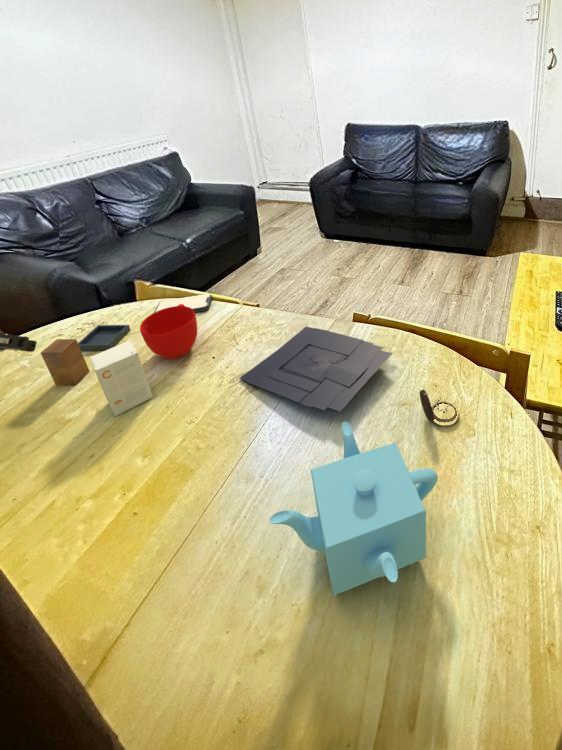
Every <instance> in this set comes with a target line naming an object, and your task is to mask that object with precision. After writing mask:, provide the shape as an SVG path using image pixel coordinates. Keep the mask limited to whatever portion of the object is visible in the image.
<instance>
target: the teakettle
mask: <svg viewBox="0 0 562 750" xmlns="http://www.w3.org/2000/svg"><path fill="white" fill-rule="evenodd" d="M341 433H342V441H343V455H342V456H343V457H342V459H339V460H336V461H332V462H330V463H326V464H323V465H320V466H318V467H314V468H312V469H310V474H311V480H312V486H313V491H314V492H313V494H314V499H315V505H316V511H317V516H306V515H304V514H302V513H301V512H299V511H297V510H293V509H284V510H280V511H278V512H275V513H274V514H272V515H271V516H270V517H269V518H268V521H269V523H270V524H272V525H285V526H289V527H290V528H291V529H293V530H294V531H295V533H296V535H297V536H298V538H299V539H300V540H301V541H302V543H303V544H304V546H306V547H308V548H309V549H311V550H313V551H319V552H324V553H325V559H326V564H327V570H328V574H329V575H328V576H329V580H330V585H331V591H332V596H333V597H335V596H338V595H339V594H342V593H344V592H347V591H349V590H352V589H355V588H357V587H359V586H361V585H363V584H366V583H369V582H371V581H374V580H376V579H379V578H383V577H386V579H387V580H388V581H389V582H391V583H396V582H397V581H398V578H399V571H398V570H400V569H404V568H405V567H407V566H410V565H412V564H416V562H420V561H421V560H425V559H426V558H427V540H426V539H427V511H426V509H425V507H424V504H423V500H424V499H425V498H426V497H427V496H428V495H429V494H430V493H431V491H432V490H434V488H435V486H436V484H437V482H438V478H439V477H438V473H437V471H435V469H433V468H430V467H425V468H419V469H414V470H410V471H409V469H408V467H407V465H406V463H405V460H404V458H403V455H402V453H401V451H400V449H399V446H398V443H397V442H392V443H389V444H385V445H383V446H380V447H376V448H373V449H370V450H366V451H363V452H361V451H360V449H359V447H358V444H357V441H356V438H355V435H354V431H353V428H352V425H350V423H349V422H347V421H343V422H342V424H341ZM354 587H355V588H354Z"/></svg>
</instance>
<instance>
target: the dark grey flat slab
mask: <svg viewBox="0 0 562 750" xmlns="http://www.w3.org/2000/svg"><path fill="white" fill-rule="evenodd" d="M383 349H384V347H383V346H381V345H376V344H374V343H373V342H371V341H366V340H364V339H361V338H358V337H355V336H354V337H353V336H350V335H346V334H342V333H337V332H334V331H331V330H326V329H321V328H318V327H317V328H316V327H311V326H305V327H304V328H302V329H301V330H300V331H299V332H298V333H296V334H295V335H294V336H293V337H291V338H289V340H288V341H286V343H284V344H283V345H282V346H280V347H279V348H278V349H277V350H276V351H274V352H272V353H271V354H270V355H268V356H266V358H264V359H263V360H261V362H259V363H258V364H257V365H255V366H253V367H252V368H251V369H249V370H248V371H246V373H244V374H243V375H241V376H240V377H239V379H240V380H243V381H244V382H246V383H248V384H250V385H253V386H256V387H258V388H260V389H261V388H262V389H264V390H266V391H269V392H272V393H274V394H276V395H279V396H281V397H283V398H286V399H289V400H292V401H293V402H296V403H299V404H300V405H303V406H306V407H309V408H311V407H314V408H317V409H319V410H322V411H325V410H327V408H330V409H333V410H336V411H339V412H342V410H343V409H344V408H345V407H346V406H347V405H348V403H350V401H351V400H352V399H353V398H354V397H355V395H357V393H358V392H359V391H360V390H361V389H362V387H363V386H364V385H365V384H367V382H368V381H369V379H370V378H371V377H372V376H373V375H374V374H375V373H376V372H377V371H378V370H380V367H381V366H383V365H384V364H385V362H386V361H387V360H388V359H389V358H390V357H391V356H392V355H393V353H392V352H389V351H384V350H383Z"/></svg>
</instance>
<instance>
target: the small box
mask: <svg viewBox="0 0 562 750" xmlns="http://www.w3.org/2000/svg"><path fill="white" fill-rule="evenodd" d="M89 360H90V363H91V365H92V368H93V369H94V370H93V371H94V373H95V375H96V376H97V380H98V381H99V384H100V387H101V389H102V391H103V395H104V397H105V398H106V400H107V403H108V405H109V408H110V410H111V412H112V414H113V416H114V417H117V416H119V415H122V414H123V413H124V412H126V411H127V412H128V410H131V409H132V408H135V407H136V406H139V405H141V404H143V403H144V402H147V401H148V400H150V399H152V398H153V397H154V395H153V392H152V390H151V387H150V384H149V381H148V378H147V375H146V372H145V370H144V367H143V364H142V361H141V358H140V356H139V353H138V352H137V350H136V348H135V347H134V345H133V344H132V342H131V341H130V340H128V341H125V342H123V343H121V344H117V345H116V346H115V347H113V348H111V349H108V350H106V351H100V352H99V353H96V354H93V355H92V356H91V355H90V356H89Z"/></svg>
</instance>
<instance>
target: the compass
mask: <svg viewBox="0 0 562 750" xmlns="http://www.w3.org/2000/svg"><path fill="white" fill-rule="evenodd" d="M419 399H420V404H421V407H422V410H423V412H424V416H425V418H426V419H427V421H428V422H433V420H434V419H436V420H437V421H439V422H444V423H445V422H450V421H453V420H454V419H455V418H456V416H457V411H456V408H457V407H456V406H455V405H454V404H453V403H451V402H449V403H447V402H448V401H440V399H439V400H438V402H439V401H440V402H439V403H438V402H435V403H436V404H435V403H434V404H435V405H434V406H433V407H431V406H432V404H431V400H430V398H429V392H428V393H427V392H426V390H425V389H421V390H420V391H419ZM442 403H444V404H447V405H448V406H449V405H450V406H452V407H453V408H454V410H455V414H454V416H453V417H452V418H450V419H447V418H446V419H440V418H438V417H437V416H436V415H435V414H434V412H433V410H434V408H435V407H437V406H438V407H439V404H442ZM450 403H451V404H450ZM452 404H453V405H454V406H455V407H456V408H455V407H454V406H453V405H452ZM436 405H437V406H436ZM448 406H447V407H448ZM437 409H438V410H439V408H437ZM442 410H443V409H442ZM442 410H440V411H442ZM445 410H446V412H447V411H448V410H447V408H446V409H445ZM443 413H445V411H443Z"/></svg>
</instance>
